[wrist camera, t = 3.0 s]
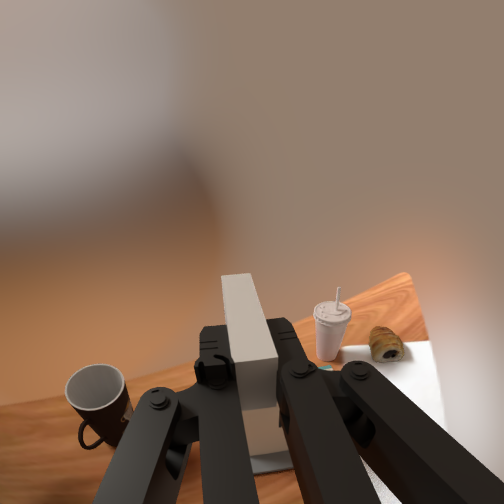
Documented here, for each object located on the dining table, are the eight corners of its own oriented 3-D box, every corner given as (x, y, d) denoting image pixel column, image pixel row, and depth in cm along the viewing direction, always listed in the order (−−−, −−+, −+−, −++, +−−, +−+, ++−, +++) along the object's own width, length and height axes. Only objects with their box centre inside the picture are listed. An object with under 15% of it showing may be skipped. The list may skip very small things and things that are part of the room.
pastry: (361, 334, 54) (365, 318, 53) (391, 332, 54) (396, 317, 52) (372, 365, 46) (377, 349, 44) (405, 362, 45) (411, 346, 43)
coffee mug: (117, 400, 39) (96, 355, 35) (157, 424, 35) (137, 379, 31) (71, 443, 29) (38, 400, 25) (108, 475, 25) (75, 436, 22)
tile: (246, 456, 30) (240, 397, 25) (243, 441, 32) (237, 379, 28) (321, 442, 31) (338, 380, 27) (316, 429, 34) (330, 365, 29)
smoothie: (346, 365, 46) (360, 297, 41) (311, 367, 46) (318, 298, 41) (340, 342, 52) (350, 277, 47) (307, 344, 52) (313, 278, 47)
